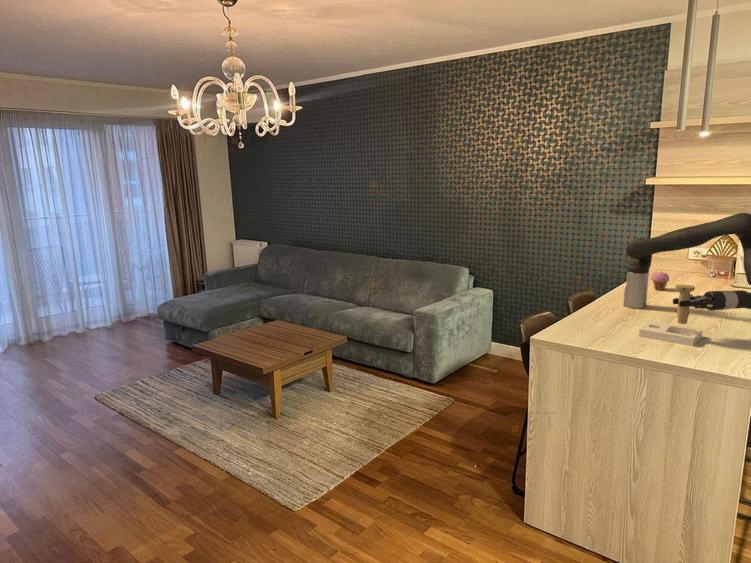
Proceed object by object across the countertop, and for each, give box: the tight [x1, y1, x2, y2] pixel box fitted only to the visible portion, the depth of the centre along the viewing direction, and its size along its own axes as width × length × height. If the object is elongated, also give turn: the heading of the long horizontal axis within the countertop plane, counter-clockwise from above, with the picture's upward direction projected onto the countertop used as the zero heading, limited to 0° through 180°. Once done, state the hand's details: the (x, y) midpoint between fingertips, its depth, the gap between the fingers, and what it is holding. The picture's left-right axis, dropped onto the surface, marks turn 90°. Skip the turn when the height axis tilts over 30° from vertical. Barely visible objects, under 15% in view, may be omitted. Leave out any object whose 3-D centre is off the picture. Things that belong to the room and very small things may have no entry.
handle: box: [675, 284, 696, 325], centre depth 196 cm, size 5×6×15 cm
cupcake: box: [650, 271, 670, 291], centre depth 274 cm, size 9×9×10 cm
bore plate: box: [638, 320, 703, 347], centre depth 201 cm, size 19×14×3 cm
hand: (676, 302), depth 196 cm, fingers closed on handle, 3 cm apart
